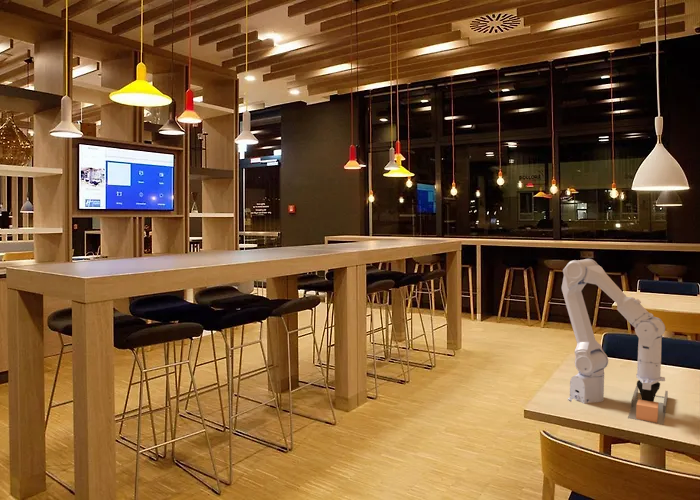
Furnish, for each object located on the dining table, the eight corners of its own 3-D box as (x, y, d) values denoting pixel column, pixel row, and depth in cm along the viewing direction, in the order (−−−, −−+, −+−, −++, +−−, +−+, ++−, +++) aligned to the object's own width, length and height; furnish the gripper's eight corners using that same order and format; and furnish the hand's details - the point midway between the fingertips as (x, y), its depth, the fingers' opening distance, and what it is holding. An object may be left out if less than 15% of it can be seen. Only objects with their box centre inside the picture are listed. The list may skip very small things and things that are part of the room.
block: (656, 422, 142) (657, 408, 141) (636, 418, 144) (636, 404, 144) (657, 416, 146) (658, 402, 145) (637, 412, 148) (638, 399, 148)
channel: (663, 428, 140) (664, 417, 140) (627, 421, 145) (627, 410, 145) (667, 400, 161) (667, 390, 161) (635, 395, 166) (636, 386, 166)
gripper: (664, 369, 139) (662, 418, 140) (666, 356, 151) (665, 402, 152) (634, 365, 143) (633, 413, 144) (639, 353, 155) (637, 397, 156)
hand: (647, 407), depth 148 cm, fingers closed
